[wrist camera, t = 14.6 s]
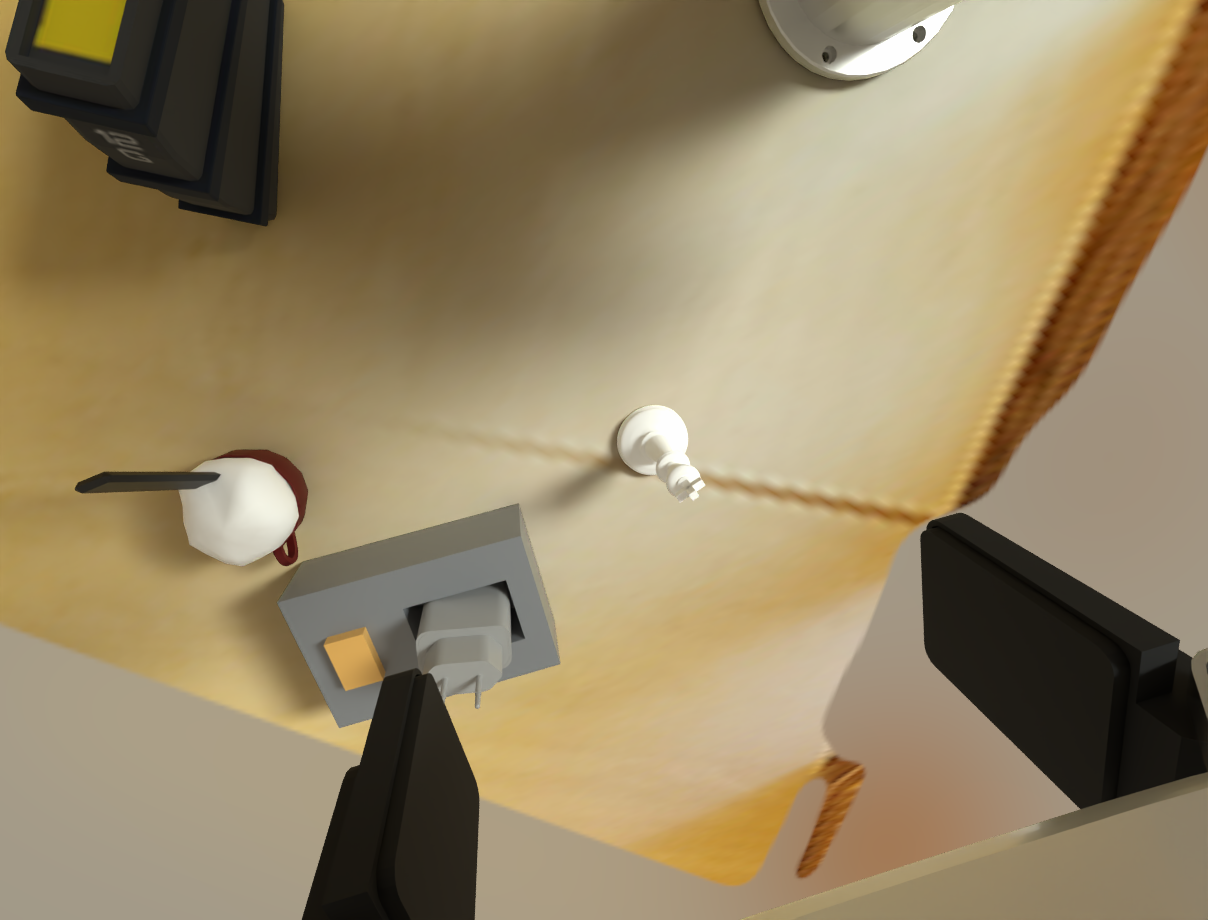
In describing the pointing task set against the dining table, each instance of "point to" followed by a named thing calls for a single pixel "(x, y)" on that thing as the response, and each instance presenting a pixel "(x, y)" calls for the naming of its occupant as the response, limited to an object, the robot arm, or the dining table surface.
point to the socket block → (411, 604)
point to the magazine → (164, 92)
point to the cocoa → (228, 503)
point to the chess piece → (659, 449)
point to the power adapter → (466, 640)
